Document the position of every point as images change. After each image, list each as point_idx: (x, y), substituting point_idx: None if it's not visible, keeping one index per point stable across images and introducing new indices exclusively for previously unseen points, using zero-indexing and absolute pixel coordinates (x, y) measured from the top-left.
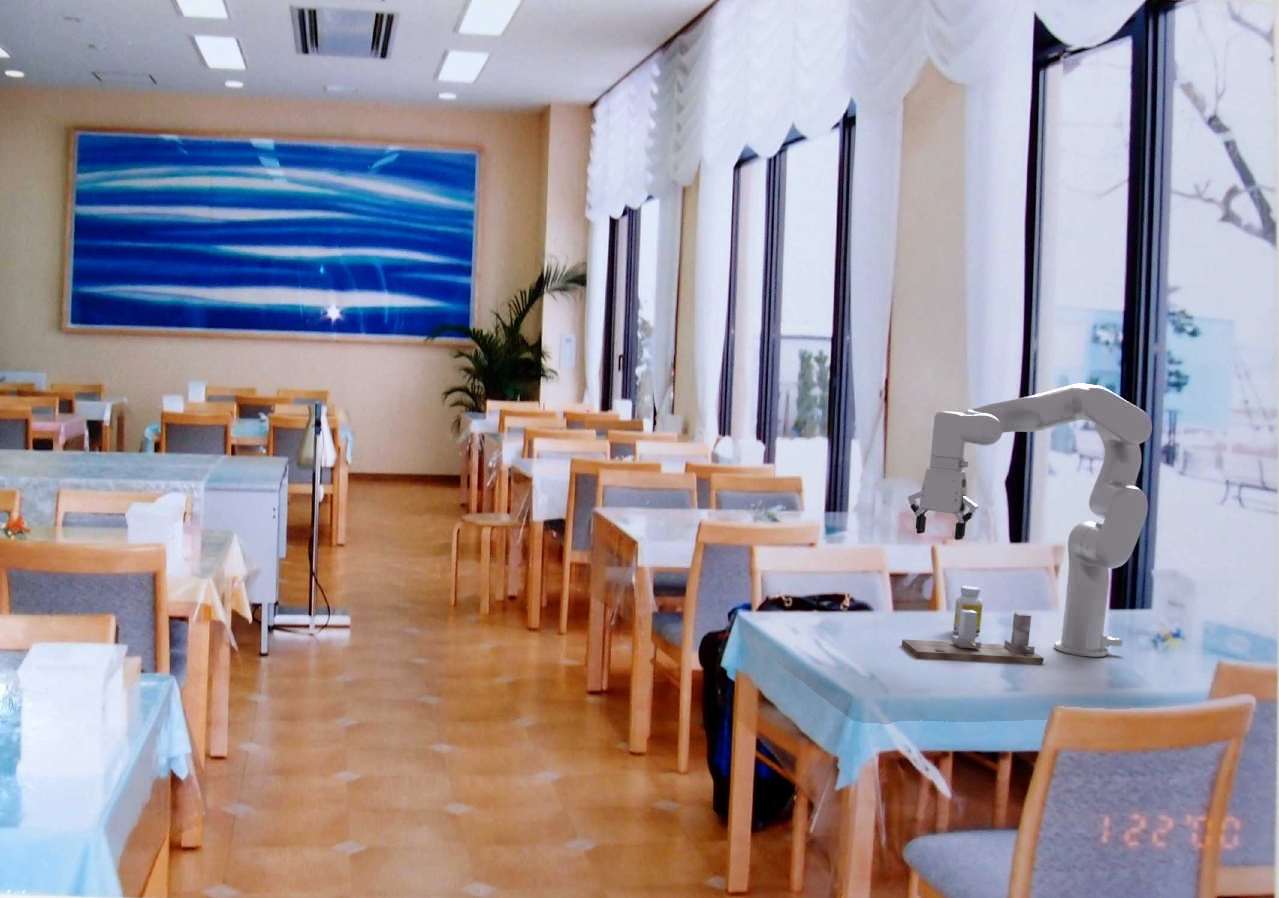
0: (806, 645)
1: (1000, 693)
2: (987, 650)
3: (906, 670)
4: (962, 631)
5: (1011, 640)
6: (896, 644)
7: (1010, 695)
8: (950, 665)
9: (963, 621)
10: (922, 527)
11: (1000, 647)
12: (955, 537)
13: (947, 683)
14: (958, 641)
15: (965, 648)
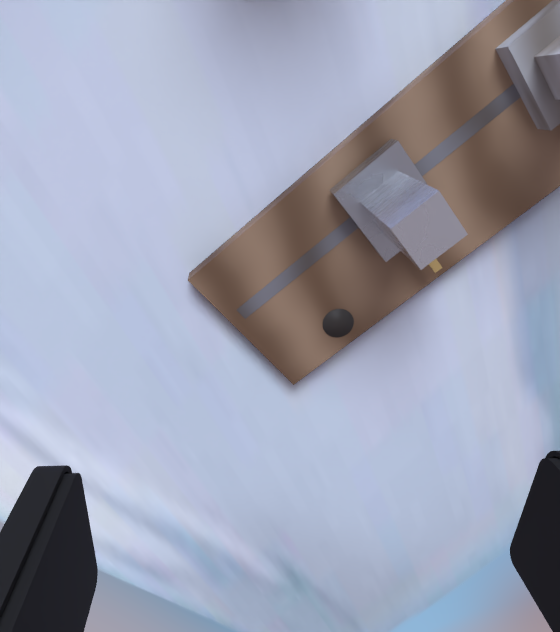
0: None
1: None
2: (456, 187)
3: (323, 492)
4: (389, 238)
5: (537, 57)
6: (170, 272)
7: None
8: (387, 373)
9: (401, 249)
10: (68, 588)
11: (486, 91)
12: (526, 574)
13: (428, 511)
14: (373, 246)
15: None
